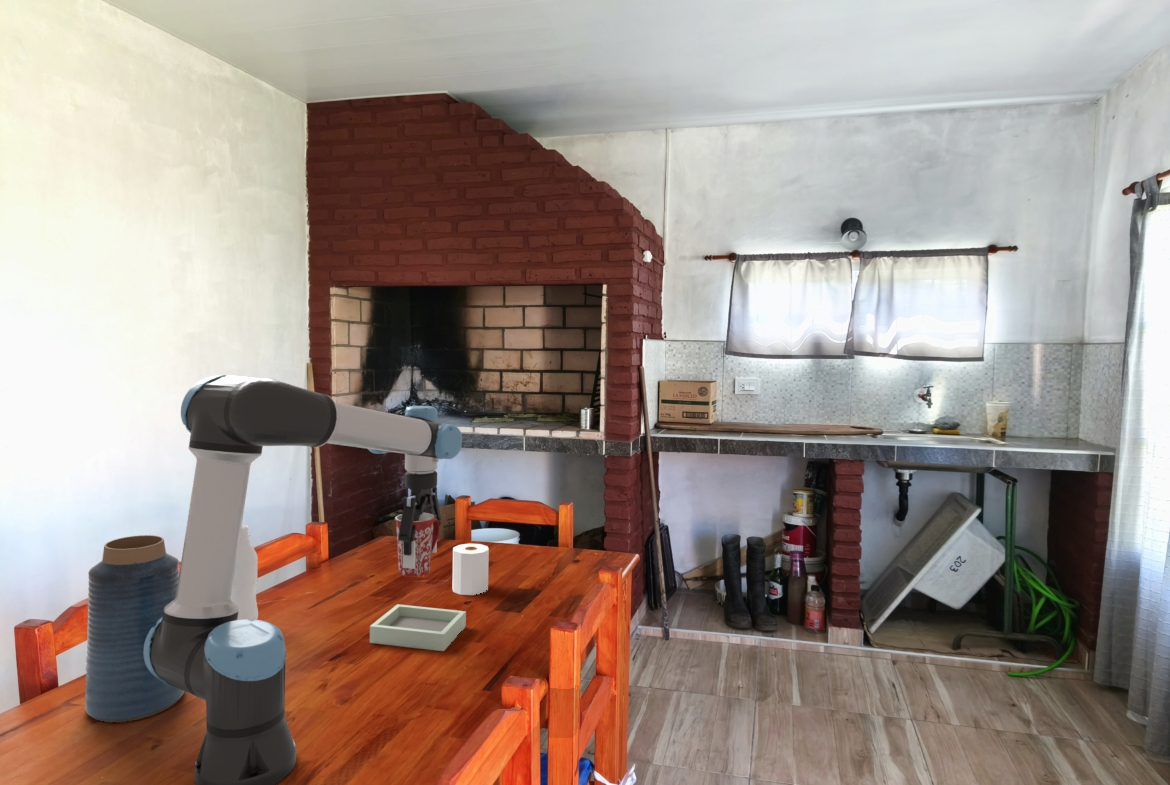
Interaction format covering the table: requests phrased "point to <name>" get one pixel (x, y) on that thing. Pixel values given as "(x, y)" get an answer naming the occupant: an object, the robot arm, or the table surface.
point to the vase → (127, 628)
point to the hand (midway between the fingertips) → (420, 559)
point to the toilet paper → (470, 569)
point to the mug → (419, 544)
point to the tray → (418, 627)
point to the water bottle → (245, 578)
